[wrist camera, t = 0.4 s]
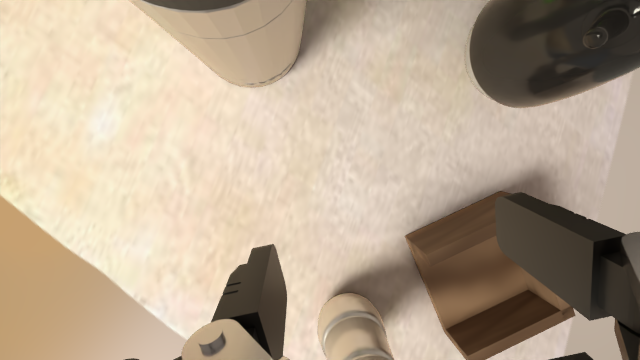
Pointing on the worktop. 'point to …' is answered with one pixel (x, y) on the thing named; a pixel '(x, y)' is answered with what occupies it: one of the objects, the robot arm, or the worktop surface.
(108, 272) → the worktop surface
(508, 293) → the u rest
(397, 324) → the worktop surface
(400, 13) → the worktop surface
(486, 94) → the black egg-shaped dispenser
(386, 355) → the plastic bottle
